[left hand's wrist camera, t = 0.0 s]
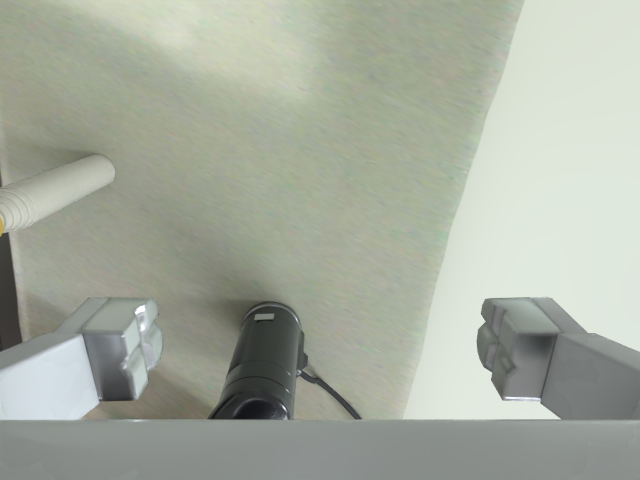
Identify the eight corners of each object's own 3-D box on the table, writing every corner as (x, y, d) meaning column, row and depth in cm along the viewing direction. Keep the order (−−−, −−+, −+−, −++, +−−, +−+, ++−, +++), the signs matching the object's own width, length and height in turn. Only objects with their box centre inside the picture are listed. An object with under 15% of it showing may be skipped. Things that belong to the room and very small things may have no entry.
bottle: (104, 149, 56) (-34, 198, 34) (121, 179, 58) (-1, 244, 36) (76, 161, 57) (-77, 216, 35) (94, 190, 58) (-42, 260, 36)
